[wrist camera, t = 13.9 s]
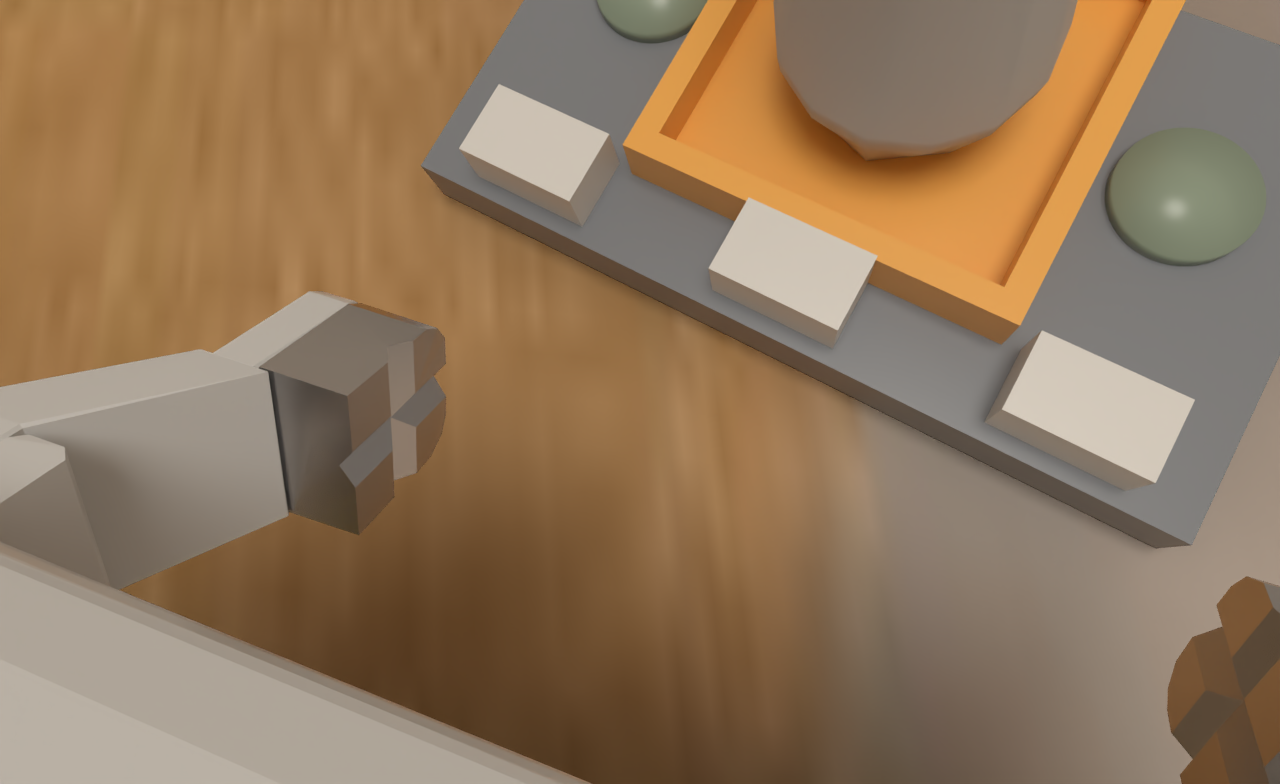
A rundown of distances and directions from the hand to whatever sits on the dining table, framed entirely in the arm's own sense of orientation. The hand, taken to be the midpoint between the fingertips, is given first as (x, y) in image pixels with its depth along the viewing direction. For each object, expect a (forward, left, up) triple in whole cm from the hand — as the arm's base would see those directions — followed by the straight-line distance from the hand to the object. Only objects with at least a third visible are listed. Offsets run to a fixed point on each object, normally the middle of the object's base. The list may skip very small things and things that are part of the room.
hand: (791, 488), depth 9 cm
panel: (-2, +9, -11) cm, 15 cm away
